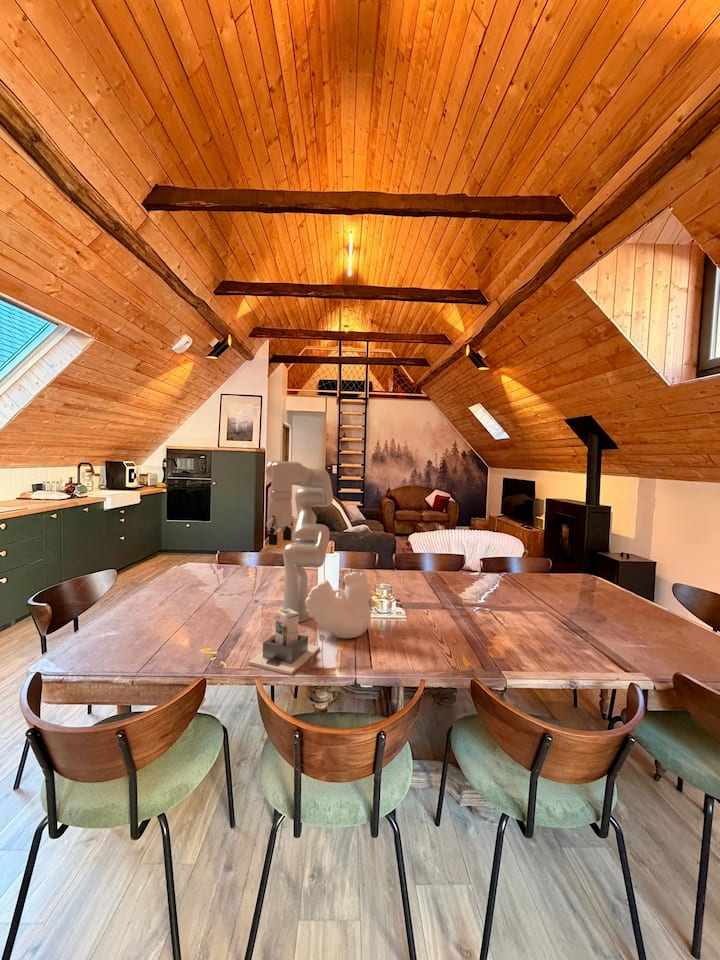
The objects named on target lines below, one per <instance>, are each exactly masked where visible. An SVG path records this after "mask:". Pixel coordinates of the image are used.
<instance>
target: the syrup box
mask: <svg viewBox="0 0 720 960" xmlns="http://www.w3.org/2000/svg"><path fill="white" fill-rule="evenodd" d="M298 617H299V613H298V612H295V611H293V610H291V609H284V608H283V609H280V610H276V612H275V632H274V633H275V634H274V635H275V643H277V644H282V645H286V646H291V645H293V644H294V643H295V642H297V641H298V635H299V634H298V633H299V622H298Z"/></svg>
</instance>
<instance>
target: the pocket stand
mask: <svg viewBox="0 0 720 960" xmlns="http://www.w3.org/2000/svg"><path fill="white" fill-rule="evenodd" d="M320 648H321V646H318V645H312V644H309V636H307V635H303V634H298V641H297V642H295V643H294V644H293V645H291V646H286V645H282V644H277V643H275V634H274V635H272V636H271V637H269V638H267V639H266V640H265V641H262V651H261V652H259V653H258V654H257V655H256V656H254V657H252V658H250V660H248V662H247V663H248V664H249V666H253V667H258V668H260V669H261V668H262V669H265V670H269V671H273V672H276V673H281V674H285V673H286V674H285V675H289V674H290V676H292V675H294V673H295V672H296V671H297V670H296V669H298V668H299V667H300V666H301V665H302V664H303V663H304V662H305V663H307V662H308V661H309V660H310V659H311V658H312V657H314V655H315V654H317V653H318V652H319V651H320V650H319V649H320ZM318 650H319V651H318ZM317 651H318V652H317ZM316 652H317V653H316ZM311 656H312V657H311ZM310 657H311V658H310ZM309 658H310V659H309ZM308 659H309V660H308ZM307 660H308V661H307ZM305 663H304V664H305ZM248 664H247V665H248ZM304 664H303V665H304ZM303 665H302V666H303ZM302 666H301V667H302ZM301 667H300V668H301ZM300 668H299V669H300ZM299 669H298V670H299ZM295 670H296V671H295ZM294 671H295V672H294ZM293 672H294V673H293Z"/></svg>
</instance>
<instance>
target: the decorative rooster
mask: <svg viewBox="0 0 720 960" xmlns="http://www.w3.org/2000/svg"><path fill="white" fill-rule="evenodd" d="M343 581H344V584H345V587H344V589H342V588H340V587H339V588H336V589H333V587H332V584H331V583H330V582H329V580H327V579H324V580H322V581H319V582H318V584H317V585H315V586H313V587H312V588H311V589H310V592H309V593H308V594H307V598H306V600H305V603H306V608H307V612H308V614H309V616H310V619H311V618H312V619H314V621H315V622H316V623H318V624H324V626H325V627H326V628H327V629H328V631H330V632H331V633H332V635H334V637H336V638H339V639H352V638H357V637H360V636H361V635H363V634H364V633H365V632H366V631H367V629H368V628H369V626H370V623H371V618H372V616H371V614H372V611H371V607H370V604H369V602H370V590H371V588H372V587H373V585H372V584H371V583H368V582H367V574H366V573H364V572H363V573H362V572H358V571H352V572H350V573H345V574H344V576H343ZM337 593H340V594H341V596H337Z"/></svg>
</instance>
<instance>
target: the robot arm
mask: <svg viewBox="0 0 720 960" xmlns="http://www.w3.org/2000/svg"><path fill="white" fill-rule="evenodd" d="M265 474H266V477H267V479H268V480H269V481H270V482H271V484H270V486H271V487H270V488H271V489H270V501H269V505H268V510H267V511H268V512H267V513H268V514H267V522H266V523H265V525H266V529H267V530H266V531H267V534H268V545H269V546H277V545H278V530H279V529H282V528H283V532H282V540H283V541H289V542H290V541H293V542H291V543H288V544H287V545H285V546H284V548H283V551H282V557H283V564H284V590H283V591H284V594H283V609H291V610H293V611H295V612H298V613H299V617H298V623H302V622H306V621H308V620H309V619H311V617H310V616H309V614H308V611H307V608H306V603H305V600H306V598H307V597H308V581H309V580H308V573H307V572H306V570H305V568H320V567H322V566H323V565H324V563H325V560H326V556H327V550H328V548H329V542H330V529H329V527H328V526H327V525H326V524H319V523H317V519H318V518H317V515H316V514H315V512H314V511H313V510H312V508H310V507H321V508H322V507H323V508H326V507H330V506H331V505H332V504H333V499H334V494H333V487H332V481H331V477H330V474H329V472H328V471H327V470H326V469H324V468H308V467H306V466H304V465H302V463H300V462H298V461H287V460H286V461H285V460H283V461H282V460H281V461H280V460H271V461H269V462H268V463H267V465H266V468H265ZM293 486H297V487H299V488H297V490H296V491H295V495H294V497H295V498H294V500H295V506H296V508H295V509H296V512H297V518H296V522H295V525H294V519H295V517H294V516H293V505H292V504H293V503H292V499H293ZM293 525H294V528H293ZM292 529H293V532H292ZM292 533H293V534H292Z"/></svg>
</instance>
